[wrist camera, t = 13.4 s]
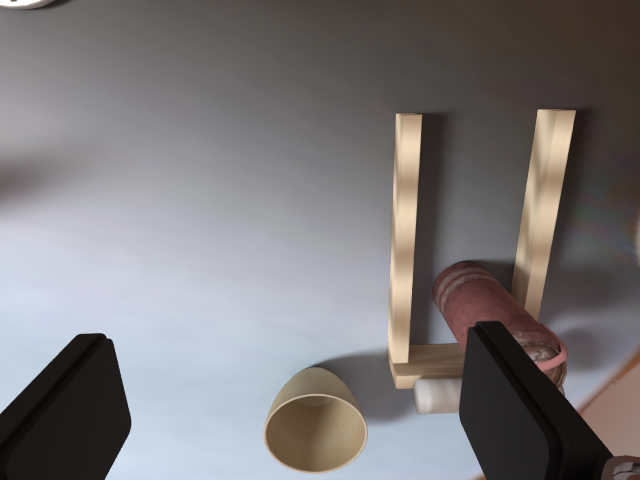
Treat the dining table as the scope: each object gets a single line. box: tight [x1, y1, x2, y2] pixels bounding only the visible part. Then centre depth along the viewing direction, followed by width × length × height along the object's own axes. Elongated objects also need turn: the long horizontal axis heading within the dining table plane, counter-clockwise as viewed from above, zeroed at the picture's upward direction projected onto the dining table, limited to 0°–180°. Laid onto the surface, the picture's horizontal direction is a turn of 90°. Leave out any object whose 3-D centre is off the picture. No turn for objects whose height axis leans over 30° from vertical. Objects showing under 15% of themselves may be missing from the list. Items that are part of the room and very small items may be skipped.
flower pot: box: [264, 367, 368, 474], centre depth 42 cm, size 10×10×7 cm
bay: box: [387, 109, 576, 414], centre depth 36 cm, size 28×16×10 cm, turn 2°
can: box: [432, 262, 568, 389], centre depth 35 cm, size 6×6×14 cm
